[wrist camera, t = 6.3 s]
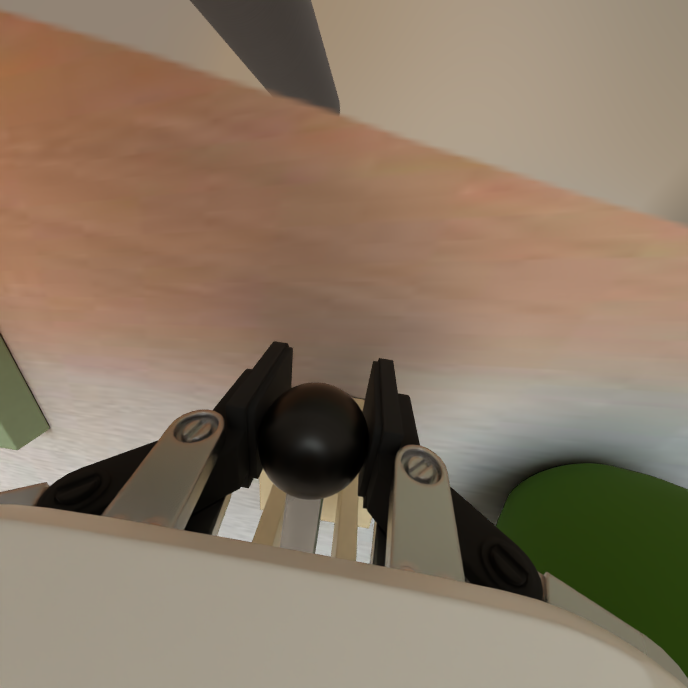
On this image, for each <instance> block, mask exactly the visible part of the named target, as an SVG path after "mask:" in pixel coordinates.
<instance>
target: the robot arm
mask: <svg viewBox="0 0 688 688" xmlns="http://www.w3.org/2000/svg"><path fill="white" fill-rule="evenodd" d="M292 358H293V348H292V347H289V345H288V343H282V342H276V341H274V342H273V343H272V344H271V345H270V347H269V348H268V349H267V351H266V352H265V353H264V355H263V356H262V357H261V359H260V360H259V361H258V363H257V364H256V365H255V366H254V368H253V369H246V370H245V371H244V372H243V373H242V375H241V376H240V377H239V378H238V380H237V381H236V382H235V383H234V385H233V386H232V387H231V388H230V389H229V391H228V392H227V393H226V394H225V396H224V397H223V398H222V399H221V401H220V402H219V403H218V404H217V406H216V407H215V408H214V409H213V411H212V410H197V411H192V412H189V413H187V414H184V415H182V416H181V417H179V418H177V419H176V420H175V421H174V422H173V423H172V424H171V425H170V426H169V427H168V429H167V430H166V431H165V432H164V434H163V435H162V436H161V438H160V439H159V440H158V441H155V442H153V443H150V444H147V445H144V446H141V447H139V448H136V449H133V450H130V451H127V452H125V453H122V454H119V455H116V456H113V457H111V458H108V459H105V460H102V461H100V462H97V463H94V464H91V465H88V466H86V467H83V468H80V469H78V470H76V471H73V472H71V473H69V474H67V475H65V476H64V477H62V478H61V479H59V480H57V481H56V482H55V483H54V484H52V485H51V486H49V485H48V483H47V482H45V483H40V484H36V485H31V486H26V487H22V488H17V489H13V490H8V491H4V492H0V688H688V678H687V677H686V675H685V674H684V673H683V671H682V670H681V668H680V667H679V666H678V665H677V664H676V663H675V662H674V661H673V659H672V658H671V657H670V656H669V655H668V654H667V653H666V652H665V651H664V650H663V649H662V648H661V647H659V646H658V645H657V644H656V643H654V642H653V641H652V640H651V639H649V638H648V637H647V636H645V635H644V634H642V633H641V632H639V631H638V630H636V629H634V628H633V627H631V626H630V625H628V624H627V623H625V622H624V621H622V620H621V619H619V618H618V617H616V616H614V615H613V614H611V613H610V612H608V611H607V610H605V609H604V608H602V607H601V606H599V605H598V604H596V603H594V602H593V601H591V600H590V599H588V598H587V597H585V596H584V595H582V594H581V593H579V592H577V591H576V590H574V589H573V588H571V587H570V586H568V585H567V584H565V583H564V582H562V581H561V580H559V579H557V578H556V577H554V576H553V575H551V574H550V573H548V572H546V573H545V574H544V575H543V574H541V573H540V572H538V571H537V570H536V568H535V566H534V564H533V563H532V561H531V560H530V559H529V557H528V556H527V555H526V554H525V552H524V551H523V550H522V549H521V548H520V547H519V546H518V545H517V544H515V543H514V542H513V541H512V540H511V539H510V538H509V537H507V536H506V535H505V534H504V533H503V532H502V531H501V530H499V529H498V528H497V527H496V526H495V525H494V524H493V523H491V522H490V521H489V520H488V519H487V518H486V517H485V516H483V515H482V514H481V513H480V512H479V511H478V510H476V509H475V508H474V507H473V506H472V505H471V504H470V503H468V502H467V501H466V500H465V499H464V498H463V497H462V496H460V495H459V494H458V493H457V492H456V491H455V490H454V489H452V488H451V487H450V484H449V478H448V472H447V469H446V466H445V464H444V463H443V461H442V460H441V458H440V457H438V456H437V455H436V454H435V453H434V452H432V451H431V450H429V449H428V448H425V447H423V446H420V443H419V439H418V434H417V429H416V424H415V419H414V415H413V410H412V405H411V400H410V397H409V395H404V394H398V391H397V384H396V377H395V371H394V364H393V360H387V359H381V358H379V360H378V361H373V364H372V369H371V374H370V378H369V383H368V388H367V392H366V397H365V402H364V406H363V411H362V412H363V414H364V416H365V419H366V422H367V427H368V433H369V444H368V451H367V455H366V459H365V462H364V464H363V466H362V468H361V470H360V472H359V475H358V496H359V497H363V508H364V509H367V511H368V513H369V514H370V515H371V516H372V518H373V519H374V520H375V523H374V532H373V541H372V550H371V560H370V564H367V563H362V562H356V561H351V560H346V559H340V558H335V557H329V556H324V555H318V554H313V553H307V552H302V551H296V550H291V549H285V548H280V547H274V546H269V545H263V544H258V543H252V542H247V541H241V540H236V539H230V538H224V537H219V536H217V534H218V531H219V528H220V526H221V523H222V520H223V517H224V515H225V512H226V509H227V506H228V504H229V501H230V498H231V493H232V492H234V491H236V490H238V489H240V487H245V488H249V487H250V485H251V482H252V480H253V478H256V479H258V478H259V476H260V474H261V472H262V470H263V467H262V464H261V461H260V458H259V453H258V434H259V429H260V426H261V423H262V420H263V417H264V415H265V413H266V412H267V410H268V409H269V407H270V406H271V404H272V403H273V402H274V401H275V400H276V399H277V398H278V397H279V396H280V395H282V394H283V393H284V392H286V391H287V390H289V389H291V379H292Z"/></svg>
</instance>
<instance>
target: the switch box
mask: <svg viewBox="0 0 688 688" xmlns="http://www.w3.org/2000/svg"><path fill="white" fill-rule="evenodd" d="M48 429H49V426H48V424H47V422H46V420H45V418H44V417H43V415H42V413H41V411H40V409H39V407H38V405H37V403H36V401H35V400H34V398H33V396H32V394H31V392H30V390H29V388H28V386H27V385H26V383H25V381H24V379H23V377H22V375H21V373H20V371H19V370H18V368H17V366H16V364H15V362H14V360H13V358H12V356H11V355H10V353H9V351H8V349H7V347H6V345H5V343H4V341H3V339H2V338H1V336H0V447H1V448H7V449H13V450H19V449H20V448H22V447H23V446H25V445H26V444H28V443H29V442H31V441H32V440H34V439H35V438H36V437H38V436H39V435H41V434H42V433H44V432H45V431H47V430H48Z"/></svg>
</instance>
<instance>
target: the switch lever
mask: <svg viewBox="0 0 688 688" xmlns="http://www.w3.org/2000/svg"><path fill="white" fill-rule="evenodd" d="M368 444H369V433H368V427H367V422H366V419H365V416H364V414H363V412H362V410H361V409H360V407H359V405H358V404H357V403H356V401H355V400H354V399H353V398H352V397H351V396H350V395H349V394H347V393H346V392H344V391H343V390H341V389H339V388H337V387H335V386H332V385H330V384H325V383H306V384H301V385H298V386H295V387H293V388H291V389H289V390H287V391H286V392H284V393H283V394H282V395H280V396H279V397H278V398H277V399H276V400H275V401H274V402H273V403H272V404H271V406H270V407H269V409H268V410H267V412H266V413H265V415H264V417H263V420H262V423H261V426H260V429H259V434H258V453H259V458H260V461H261V464H262V467H263V469H264V471H265V473H266V474H267V476H268V478H269V479H270V480H271V482H272V483H273V484H274V485H275V486H276V487H278V488H279V489H280V490H282V491H283V492H285V493H286V501H285V509H284V516H283V524H282V532H281V540H280V548H285V549H291V550H296V551H302V552H307V553H313V554H315V550H316V544H317V538H318V531H319V525H320V519H321V513H322V506H323V500H324V498H327V497H330V496H332V495H334V494H336V493H338V492H340V491H342V490H343V489H344V488H346V487H347V486H348V485H349V484H350V483H351V482H352V481H353V480H354V479H355V477H356V476H357V475H358V473H359V472H360V470H361V468H362V466H363V464H364V462H365V459H366V455H367V451H368Z"/></svg>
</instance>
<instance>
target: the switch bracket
mask: <svg viewBox="0 0 688 688" xmlns="http://www.w3.org/2000/svg"><path fill="white" fill-rule="evenodd" d="M353 399H354V400H355V401H356V403H357V404H358V405H359V407H360V409H361V410H362V411H363V406H364V402H365V400H363V399H357V398H353ZM358 475H359V473H358ZM358 475H357V476H356V477H355V479H354V480H353V481H352V482H351V483H350V484H349V485H348V486H347V487H346V488H344V489H343V490H342V491H340V492H338V493H336V494H334V495H332V496H330V497H327V498H324V500H323V506H322V513H321V519H320V520H322V521H328V522H334V523H335V524H334V533H333V542H332V551H331V557H335V558H340V559H346V560H351V561H356V552H357V528H358V527H362V528H369V526H370V523H371V520H372V516H371V515H370V514H369V513H368V511H367V509H364V508H363V497H359V496H358ZM259 481H260V510H263V513H262V516H261V519H260V521H259V524H258V527H257V530H256V532H255V535H254V538H253V541H252V543H258V544H263V545H269V546H274V547H280V540H281V532H282V524H283V516H284V509H285V501H286V493H285V492H283V491H282V490H280V489H279V488H278V487H276V486H275V485H274V484H273V483H272V482H271V480H270V479H269V478H268V476H267V474H266V473H265V471H264V469H263V470H262V472H261V474H260V476H259Z"/></svg>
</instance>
